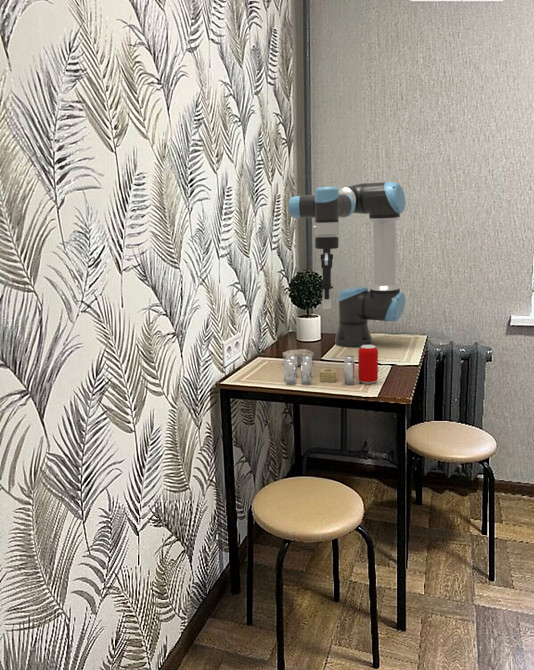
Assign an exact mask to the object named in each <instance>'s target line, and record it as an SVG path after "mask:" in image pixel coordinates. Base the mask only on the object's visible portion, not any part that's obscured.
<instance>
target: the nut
mask: <svg viewBox="0 0 534 670" xmlns="http://www.w3.org/2000/svg"><path fill="white" fill-rule="evenodd" d="M336 380H337V369H336V368H320V371H319V382H320V383H336Z"/></svg>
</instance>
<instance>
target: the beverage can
mask: <svg viewBox="0 0 534 670" xmlns="http://www.w3.org/2000/svg"><path fill="white" fill-rule="evenodd" d="M357 358H358V369H357V370H358V376H357V377H358V381H359V382H360V383H362V384H366V385H370V384H374V383H375V382H377V381H378V380H379V378H378V377H379V375H378V374H379V350H378V348H377V346H375V345H373V344H370V345H362V346H361V347H359V349H358V357H357Z"/></svg>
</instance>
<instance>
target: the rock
mask: <svg viewBox="0 0 534 670" xmlns="http://www.w3.org/2000/svg"><path fill="white" fill-rule="evenodd" d="M288 356H297V365H298V367H299V366H301V362H303V356H312V359H313V358H314V356H315V353H314V352H313V351H312V350H309V349H304V348H301V349H300V348H299V349H289V350H286V351H284V352H282V357H283V360H284V359H288Z"/></svg>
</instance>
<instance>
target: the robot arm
mask: <svg viewBox="0 0 534 670" xmlns="http://www.w3.org/2000/svg"><path fill="white" fill-rule="evenodd" d="M405 206H406V196H405V191H404V188H403V187H402V185H401V184H400V183H398V182H395V181H394V182H393V181H386V182H385V181H384V182H367V183H358V184H357V183H356V184H354V185H353V184H352V185H349V186H345V187H340V188H338V187H336V186H324V187H323V186H322V187H316V189H315V191H314V194H307V195H297V196H296V195H295V196H292V197H291V198H290V199H289V202H288V212H289V214H290V216H291V217H292V218H293V219H313V218H314V223H315V225H313V229H314V232H315V234H314V235H315V236H316V237H315V238H314V247H315V249H317V250H322V254H320V262H321V263H320V264H321V267H320V268H321V269H322V286H321V287H320V290H322V310H332V289H334V286H332V268H333V259H334V254H333V253H331V250H336V249H338V248H339V242H340V241H339V237H338V235H339V232H340V231H339V229H340V226H339V225H340V223H339V218H343V219H344V218H348V217H350V216H351V215H352V214H361V215H362V214H365V215H367V214H368V216H369V218H368V219H369V221H371V222H372V224H373V225H372V227H373V230H372V231H373V232H372V233H373V235H372V236H373V284H372V285H371V286H370V290H369V288H368V287H366V286H359V287H352V288H346V289H342V290H341V291H339V294H338V312H339V313H338V318H339V319H338V321H339V322H338V324H339V325H338V329H337V331H336V334H335V339H334V343H335V345H337V346H340V347H346V348H347V347H348V348H349V347H350V348H358V347H359V348H360V347H361V346H362V345H373V341H372V335H371V332H370V328H369V325H368V321H379V322H380V321H381V322H387V323H388V322H397V321H398V320H400V319H401V317H402V315H403V313H404V311H405V305H406V297H405V296H406V295H405V294H404V292H401V287H400V286H399V285H398V284H397V248H396V247H397V243H396V240H397V236H396V235H397V233H396V232H397V225H396V224H397V223H396V222H398V220H399V219H400V218H401V217H400V215H401V214H402V213H404V211H405V210H406V209H405V208H406V207H405Z"/></svg>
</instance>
